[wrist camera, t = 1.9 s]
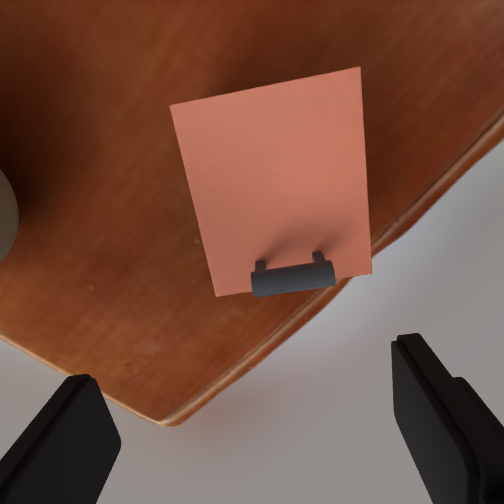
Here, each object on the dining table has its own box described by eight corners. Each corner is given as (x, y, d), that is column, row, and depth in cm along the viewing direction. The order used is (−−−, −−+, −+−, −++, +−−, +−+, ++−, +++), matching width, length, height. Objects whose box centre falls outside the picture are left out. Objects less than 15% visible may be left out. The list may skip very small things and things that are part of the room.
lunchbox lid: (369, 270, 24) (392, 300, 20) (217, 293, 25) (207, 325, 21) (357, 67, 19) (383, 51, 15) (171, 105, 20) (148, 100, 16)
